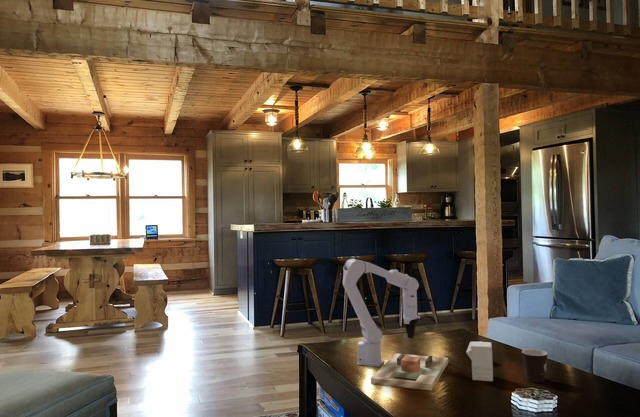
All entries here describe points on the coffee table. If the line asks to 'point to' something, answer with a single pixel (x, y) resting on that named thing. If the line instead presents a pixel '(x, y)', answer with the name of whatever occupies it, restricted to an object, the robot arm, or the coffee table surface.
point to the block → (410, 364)
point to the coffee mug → (535, 365)
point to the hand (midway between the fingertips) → (410, 337)
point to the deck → (425, 375)
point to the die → (470, 350)
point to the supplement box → (482, 361)
